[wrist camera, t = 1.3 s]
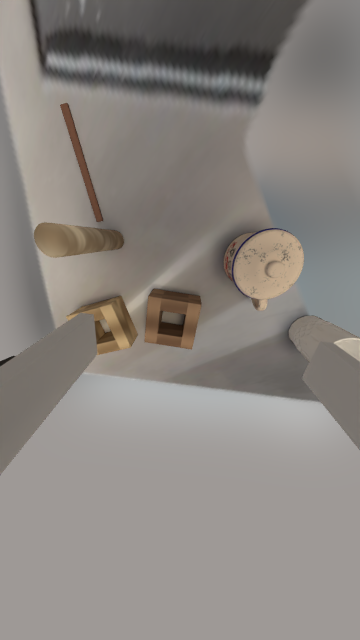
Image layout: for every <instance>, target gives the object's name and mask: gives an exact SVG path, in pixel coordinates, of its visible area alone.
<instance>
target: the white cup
mask: <svg viewBox="0 0 360 640" xmlns="http://www.w3.org/2000/svg"><path fill="white" fill-rule="evenodd" d="M289 338H290V339H291V341H292V342H293V343H294V344H295V346H296V348H297V349H298V350H299V351H300V353H301V354H302V355H303V356H304V357H305V358H306V360H307V361H308V362H309V363H310V361H311V359H312V357H313V355H314V353H315V351H316V349H317V347H318V345H319V343H320V341H322V342H331V343H334V344H336V345H337V346H338V347H340V348H341V349H343V350H344V351H345V352H347V353H348V354H350V355H351V356H352V357H354V358H355V359H357V360H358V361H359V362H360V338H359V337H357V336H355V335H353V334H351V333H349V332H347V331H346V330H344V329H342V328H340V327H338V326H336V325H334V324H332V323H329V322H327V321H324V320H322V319H321V318H318V317H316V316H304V317H302V318H299V319H297V320H296V321H295V322H294V323H293V324H292V325H291V327H290V329H289Z"/></svg>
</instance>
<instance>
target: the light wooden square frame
mask: <svg viewBox="0 0 360 640" xmlns="http://www.w3.org/2000/svg"><path fill="white" fill-rule="evenodd" d="M79 313H87V314H94V322H95V332H96V343H97V353H98V354H97V355H100V354H104V353H108V352H113V351H117V350H121V349H126V348H130V347H131V346H132V344H133V343H134V341H135V339H136V337H137V335H138V334H137V332H136V329H135V327H134V325H133V322H132V320H131V318H130V315H129V313H128V311H127V309H126V306H125V304H124V302H123V299H122V297H121V296H119V297H115V298H112V299H108V300H105V301H101V302H98V303H94V304H91V305H87V306H84V307H81V308H79V309H78V310H76V311H74V312H73V313H71V314H70V315H68V316H66V318H67V319H68V321H69V320H70V319H72V318H73V317H75V316H76V315H78V314H79ZM102 319H106V321H107V324H108V326H109V328H110V330H111V332H107V333H105V331H104V329H103V327H102V326H101V324H100V322H99V320H102Z"/></svg>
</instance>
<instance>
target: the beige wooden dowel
mask: <svg viewBox="0 0 360 640" xmlns="http://www.w3.org/2000/svg"><path fill="white" fill-rule="evenodd" d="M34 239H35V242H36V244H37V246H38V248H39V249H40V250H41V251H42V252H43V253H44V254H45V255H47V256H49V257H53V258H57V257H64V256H72V255H79V254H86V253H93V252H101V251H108V250H115V249H120V248H121V247H122V246H123V243H124V239H123V236H122V235H121V233H120V232H118V231H115V230H106V229H98V228H89V227H81V226H72V225H63V224H55V223H41V224H39V225H38V226H37V227H36V229H35V231H34Z"/></svg>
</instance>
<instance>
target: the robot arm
mask: <svg viewBox="0 0 360 640" xmlns="http://www.w3.org/2000/svg"><path fill="white" fill-rule="evenodd" d="M97 354H98V353H97V343H96V332H95V322H94V314H87V313H79V314H78V315H76V316H75V317H73V318H72V319H70V320H69V321H67V322H66V323H64V324H63V325H61V326H60V327H58V328H57V329H56V330H54V331H53V332H51V333H50V334H48V335H47V336H45V337H44V338H42V339H41V340H39V341H38V342H36V343H35V344H33V345H32V346H30V347H29V348H27V349H26V350H24V351H23V352H21V353H20V354H18V355H17V356H12V357H9V358H7V359H5V360H2V361H0V475H1V473H2V472H3V471H4V470H5V468H6V467H7V466H8V465H9V463H10V462H11V461H12V460H13V459H14V457H15V456H16V455H17V454H18V452H19V451H20V450H21V448H22V447H23V446H24V445H25V443H26V442H27V441H28V440H29V439H30V437H31V436H32V435H33V434H34V432H35V431H36V430H37V428H38V427H39V426H40V425H41V424H42V422H43V421H44V420H45V419H46V417H47V416H48V415H49V414H50V412H51V411H52V410H53V409H54V407H55V406H56V405H57V404H58V402H59V401H60V400H61V399H62V398H63V396H64V395H65V394H66V393H67V391H68V390H69V389H70V388H71V386H72V385H73V384H74V382H75V381H76V380H77V379H78V378H79V376H80V375H81V374H82V373H83V371H84V370H85V369H86V368H87V366H88V365H89V364H90V363H91V362H92V360H93V359H94V358H95V357H96V355H97ZM302 379H303V380H304V382H305V383H306V384H307V385H308V387H309V388H310V389H311V390H312V392H313V393H314V394H315V395H316V397H317V398H318V399H319V400H320V402H321V403H322V404H323V405H324V406H325V408H326V409H327V410H328V411H329V413H330V414H331V415H332V416H333V417H334V419H335V420H336V421H337V422H338V424H339V425H340V426H341V427H342V429H343V430H344V431H345V432H346V433H347V435H348V436H349V437H350V439H351V440H352V441H353V442H354V444H355V445H356V446H357V447H358V449H359V450H360V362H359V361H358V360H357V359H355V358H354V357H352V356H351V355H350V354H348V353H347V352H345V351H344V350H343V349H341V348H340V347H338V346H337V345H336V344H334V343H331V342H322V341H320V343H319V345H318V347H317V349H316V351H315V353H314V355H313V357H312V359H311V361H310V363H309V365H308V367H307V369H306V371H305V373H304V375H303V377H302Z"/></svg>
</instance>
